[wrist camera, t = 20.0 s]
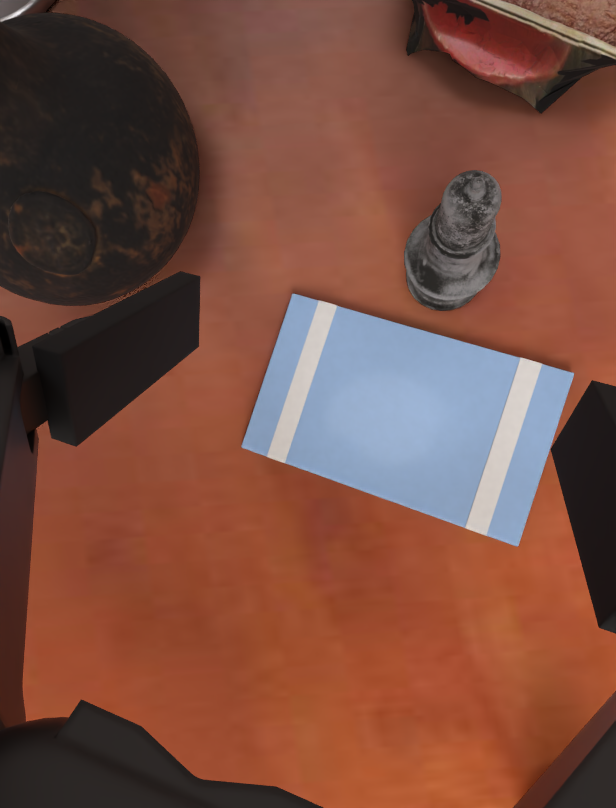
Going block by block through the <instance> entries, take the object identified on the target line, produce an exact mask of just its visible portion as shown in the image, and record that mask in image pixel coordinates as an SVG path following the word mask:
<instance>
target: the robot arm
mask: <svg viewBox="0 0 616 808" xmlns="http://www.w3.org/2000/svg"><path fill="white" fill-rule="evenodd" d="M55 1H56V0H0V21H1V22H2V21H4V20H8V19H11V18H15V17H18V16H21V15H26V14H31V13H32V14H35V13H44V12H45V11H46V10H47V9H48V8H49V7H50V6H51V5H52V4H53V3H54V2H55ZM199 313H200V276H196V275H193V274H189V273H185V272H181V271H180V272H178V273H176V274H174V275H172V276H170V277H168V278H166V279H164V280H162V281H160V282H158V283H156V284H154V285H152V286H150V287H148V288H146V289H144V290H142V291H140V292H138V293H136V294H134V295H132V296H130V297H128V298H126V299H124V300H122V301H120V302H118V303H116V304H114V305H112V306H110V307H108V308H106V309H104V310H102V311H100V312H98V313H96V314H94V315H92V316H88V317H84V318H79V319H75V320H73V321H71V322H69V323H66V324H64V325H62V326H61V327H60V328H56V329H54V330H52V331H50V332H49V334H48V333H46V334H44V335H42V336H40V337H38V338H36V339H34V340H32V341H30V342H28V343H26V344H23V345H21V346H19V347H17V344H16V339H15V335H14V331H13V327H12V323H11V321H10V320H9V319H7V318H5V317H2V316H0V808H323V807H321V806H318V805H316V804H314V803H312V802H310V801H307V800H305V799H303V798H301V797H298V796H296V795H294V794H292V793H289V792H287V791H285V790H283V789H280V788H278V787H275V786H264V785H254V784H243V783H232V782H221V781H211V780H203V779H199V778H197V777H195V776H194V775H193V774H191V773H190V772H189V771H188V770H187V769H186V768H185V767H184V766H183V765H182V764H181V763H180V762H179V761H177V760H176V759H175V758H174V757H173V756H172V755H171V754H170V753H169V752H168V751H167V750H166V749H165V748H164V747H163V746H162V745H161V744H159V743H158V742H157V741H156V740H155V739H154V738H153V737H152V736H151V735H150V734H149V733H148V732H147V731H146V730H145V729H144V728H143V727H141V726H139V725H137V724H135V723H133V722H131V721H128V720H126V719H124V718H122V717H119V716H117V715H115V714H113V713H110V712H108V711H106V710H104V709H101V708H99V707H97V706H95V705H93V704H90V703H88V702H86V701H84V700H80V702H79V703H78V705H77V706H76V708H75V709H74V711H73V712H72V714H71V715H70V717H69V718H67V717H59V718H43V719H38V720H33V721H27V722H26V716H25V707H24V700H23V689H22V679H23V663H24V648H25V633H26V619H27V604H28V589H29V574H30V560H31V545H32V530H33V515H34V500H35V486H36V471H37V456H38V441H39V438H38V434H37V430H36V428H37V427H38V426H40V425H41V424H43V423H44V422H46V421H47V420H48V424H49V429H50V433H51V438H53V439H56V440H59V441H61V442H64V443H67V444H70V445H73V446H76V447H77V446H78V445H79V444H80V443H82V442H83V441H84V440H85V439H86V438H88V437H89V436H90V435H91V434H93V433H94V432H95V431H96V430H97V429H99V428H100V427H101V426H102V425H104V424H105V423H106V422H107V421H108V420H110V419H111V418H112V417H113V416H115V415H116V414H117V413H118V412H119V411H121V410H122V409H123V408H124V407H126V406H127V405H128V404H129V403H130V402H132V401H133V400H134V399H135V398H137V397H138V396H139V395H140V394H141V393H143V392H144V391H145V390H146V389H148V388H149V387H150V386H151V385H152V384H154V383H155V382H156V381H157V380H159V379H160V378H161V377H162V376H163V375H165V374H166V373H167V372H168V371H170V370H171V369H172V368H173V367H174V366H176V365H177V364H178V363H179V362H180V361H182V360H183V359H184V358H185V357H187V356H188V355H189V354H190V353H191V352H193V351H194V350H195V349H196V348H198V347H199ZM551 452H552V456H553V460H554V463H555V467H556V471H557V474H558V478H559V482H560V485H561V489H562V493H563V496H564V500H565V504H566V508H567V511H568V515H569V519H570V522H571V526H572V530H573V533H574V537H575V541H576V545H577V548H578V552H579V556H580V559H581V563H582V567H583V570H584V574H585V578H586V582H587V585H588V589H589V593H590V596H591V600H592V604H593V607H594V611H595V615H596V618H597V622H598V626H599V628H601V629H604V630H607V631H610V632H613V633H616V387H615V386H612V385H608V384H604V383H600V382H597V381H593V380H592V381H591V383H590V385H589V386H588V388H587V390H586V391H585V393H584V395H583V396H582V398H581V400H580V401H579V403H578V405H577V406H576V408H575V410H574V411H573V413H572V415H571V416H570V418H569V420H568V421H567V423H566V425H565V426H564V428H563V430H562V431H561V433H560V435H559V436H558V438H557V440H556V441H555V443H554V445H553V446H552V448H551ZM513 808H616V691H615V692H614V693H613V695H612V696H611V697H610V698H609V699H608V700H607V701H606V703H605V704H604V705H603V706H602V707H601V708H600V709H599V711H598V712H597V713H596V714H595V715H594V716H593V717H592V718H591V720H590V721H589V722H588V723H587V724H586V725H585V726H584V728H583V729H582V730H581V731H580V732H579V733H578V734H577V736H576V737H575V738H574V739H573V740H572V741H571V742H570V744H569V745H568V746H567V747H566V748H565V749H564V750H563V752H562V753H561V754H560V755H559V756H558V757H557V758H556V759H555V761H554V762H553V763H552V764H551V765H550V766H549V767H548V769H547V770H546V771H545V772H544V773H543V774H542V775H541V777H540V778H539V779H538V780H537V781H536V782H535V783H534V785H533V786H532V787H531V788H530V789H529V790H528V791H527V793H526V794H525V795H524V796H523V797H522V798H521V799H520V800H519V802H518V803H517V804H516V805H515V806H514V807H513Z"/></svg>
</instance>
